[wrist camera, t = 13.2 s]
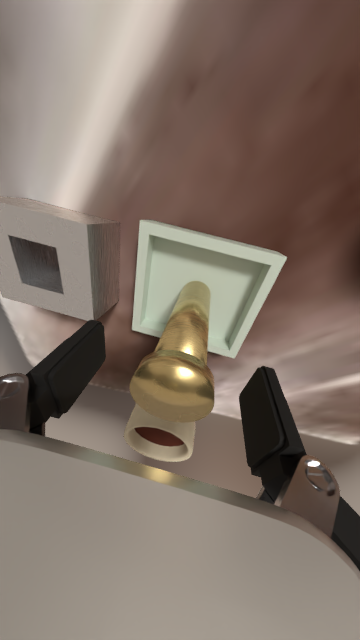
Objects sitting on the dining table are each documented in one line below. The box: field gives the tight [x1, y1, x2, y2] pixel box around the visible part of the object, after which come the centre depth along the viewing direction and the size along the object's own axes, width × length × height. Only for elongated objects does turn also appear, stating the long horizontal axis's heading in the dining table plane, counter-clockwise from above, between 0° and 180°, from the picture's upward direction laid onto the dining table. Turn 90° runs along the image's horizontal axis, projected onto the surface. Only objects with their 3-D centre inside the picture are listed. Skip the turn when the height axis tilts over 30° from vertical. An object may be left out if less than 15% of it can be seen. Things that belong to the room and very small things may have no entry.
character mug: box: [124, 403, 196, 462], centre depth 23 cm, size 11×7×13 cm, turn 154°
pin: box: [130, 281, 214, 423], centre depth 15 cm, size 5×5×14 cm
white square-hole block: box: [0, 196, 120, 321], centre depth 20 cm, size 10×11×6 cm
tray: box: [132, 220, 287, 358], centre depth 21 cm, size 13×14×3 cm
